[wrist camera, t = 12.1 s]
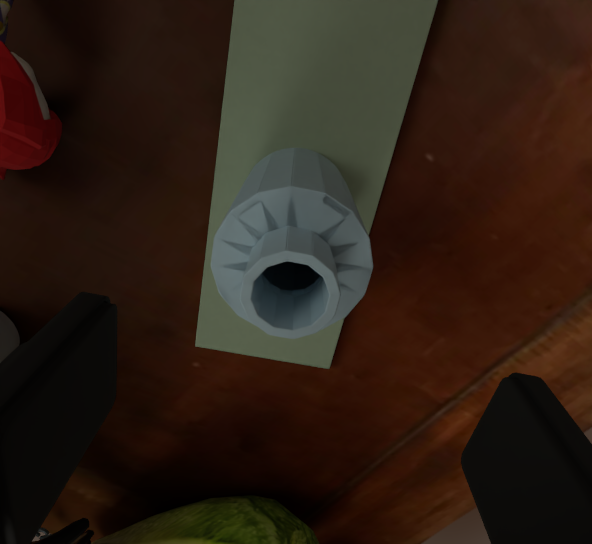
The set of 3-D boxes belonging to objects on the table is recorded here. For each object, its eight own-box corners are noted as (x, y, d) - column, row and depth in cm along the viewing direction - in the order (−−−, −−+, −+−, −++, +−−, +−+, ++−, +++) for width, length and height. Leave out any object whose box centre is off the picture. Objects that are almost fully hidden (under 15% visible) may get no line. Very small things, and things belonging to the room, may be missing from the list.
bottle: (251, 137, 23) (207, 188, 12) (359, 159, 24) (408, 229, 13) (235, 240, 26) (189, 356, 15) (333, 258, 26) (356, 384, 16)
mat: (243, -58, 20) (241, -61, 19) (438, -10, 21) (442, -12, 20) (196, 341, 30) (194, 346, 30) (328, 364, 31) (329, 369, 30)
